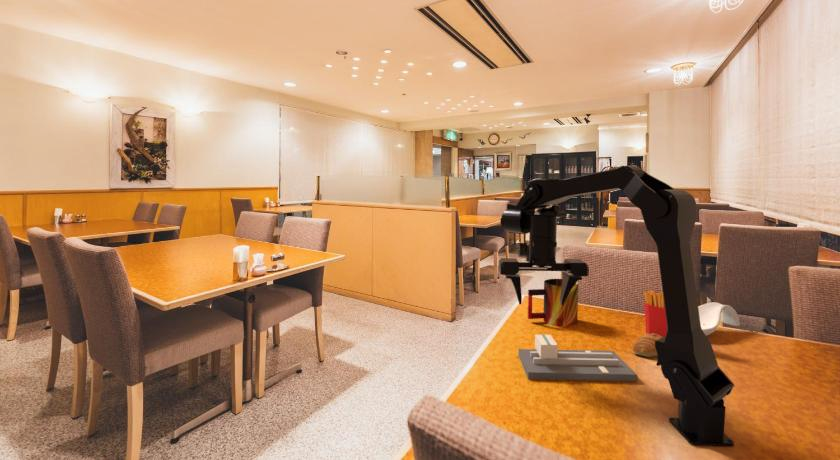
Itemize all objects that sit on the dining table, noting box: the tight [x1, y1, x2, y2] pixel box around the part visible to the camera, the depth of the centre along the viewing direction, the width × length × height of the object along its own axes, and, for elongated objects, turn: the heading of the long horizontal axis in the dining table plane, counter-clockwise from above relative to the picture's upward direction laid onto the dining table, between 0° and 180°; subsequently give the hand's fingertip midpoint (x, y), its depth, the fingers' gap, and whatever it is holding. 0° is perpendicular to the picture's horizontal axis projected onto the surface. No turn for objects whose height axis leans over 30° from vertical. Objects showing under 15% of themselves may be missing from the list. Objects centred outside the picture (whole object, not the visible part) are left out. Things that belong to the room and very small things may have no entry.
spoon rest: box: [698, 301, 741, 337], centre depth 108 cm, size 24×12×7 cm, turn 113°
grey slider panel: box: [517, 348, 638, 383], centre depth 87 cm, size 12×22×3 cm, turn 85°
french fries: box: [643, 290, 667, 337], centre depth 100 cm, size 9×4×13 cm, turn 33°
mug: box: [527, 278, 579, 328], centre depth 116 cm, size 10×14×12 cm
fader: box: [534, 334, 559, 359], centre depth 87 cm, size 6×4×5 cm, turn 175°
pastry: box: [632, 333, 663, 358], centre depth 94 cm, size 9×7×4 cm
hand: (540, 304), depth 88 cm, fingers open, 9 cm apart
